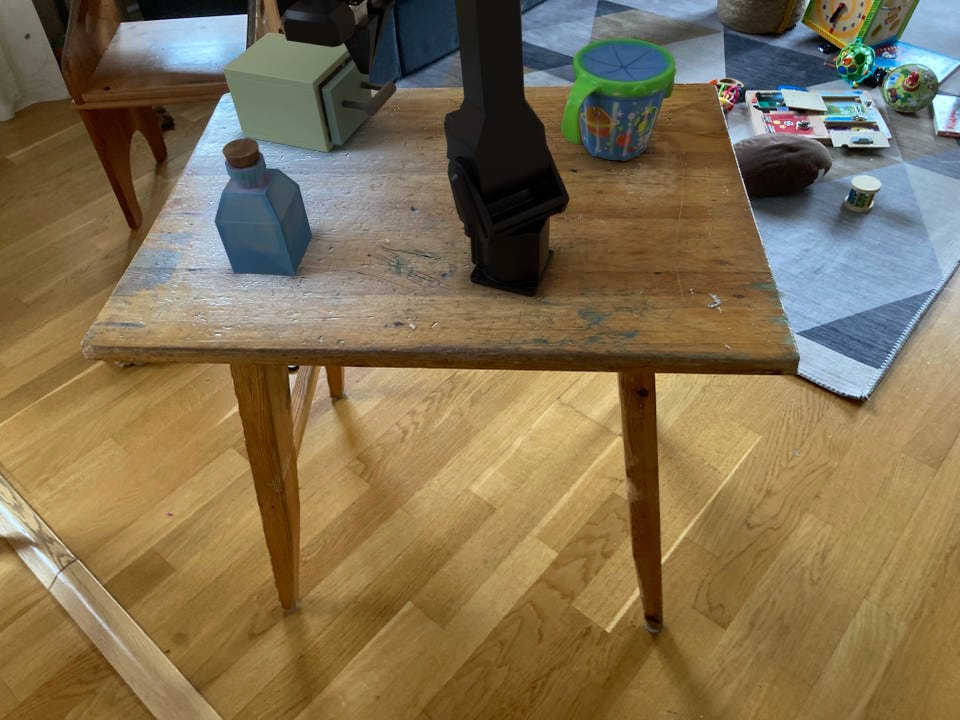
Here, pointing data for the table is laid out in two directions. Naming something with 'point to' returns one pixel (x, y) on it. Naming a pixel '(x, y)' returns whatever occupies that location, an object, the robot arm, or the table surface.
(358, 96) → the drawer
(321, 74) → the cabinet
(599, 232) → the table surface
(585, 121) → the snack cup
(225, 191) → the perfume bottle
